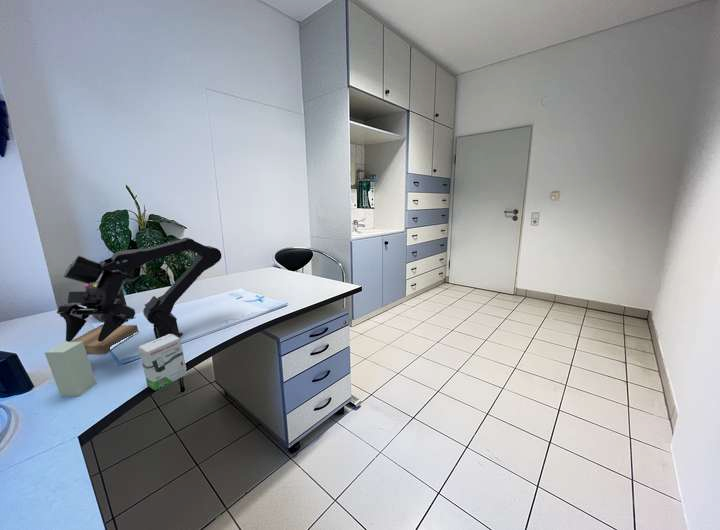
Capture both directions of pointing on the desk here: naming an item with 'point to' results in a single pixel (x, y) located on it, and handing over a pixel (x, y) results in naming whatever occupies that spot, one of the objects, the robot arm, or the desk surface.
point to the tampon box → (118, 301)
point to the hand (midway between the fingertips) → (83, 341)
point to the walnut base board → (104, 347)
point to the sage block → (71, 368)
